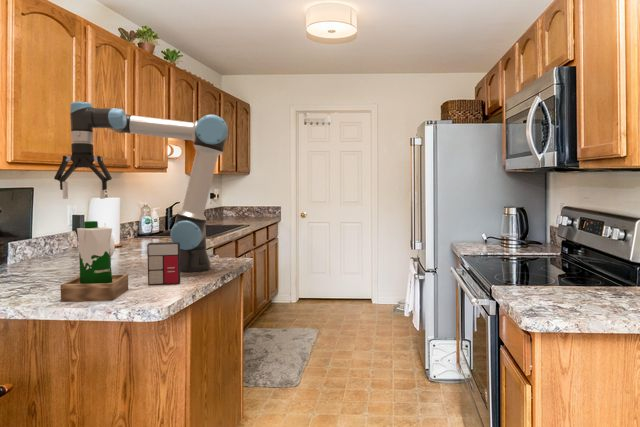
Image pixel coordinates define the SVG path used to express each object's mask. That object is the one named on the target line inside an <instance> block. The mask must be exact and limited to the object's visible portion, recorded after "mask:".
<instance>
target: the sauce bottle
mask: <svg viewBox="0 0 640 427" xmlns="http://www.w3.org/2000/svg"><path fill="white" fill-rule="evenodd" d="M106 225H107V224H106V223H104V227H106ZM110 248H111V258H112V257H113V255H114V252H115V250H116V249H115V248H116V246H115V239H114V237H113V235H112V233H111V239H110Z"/></svg>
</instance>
